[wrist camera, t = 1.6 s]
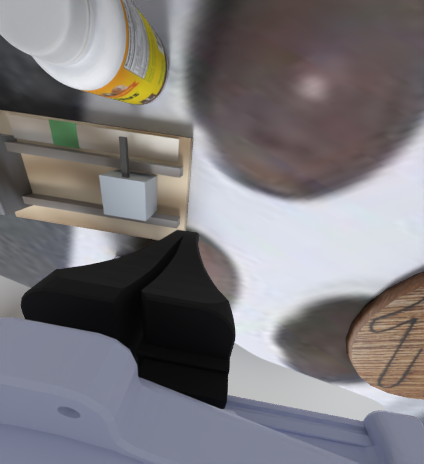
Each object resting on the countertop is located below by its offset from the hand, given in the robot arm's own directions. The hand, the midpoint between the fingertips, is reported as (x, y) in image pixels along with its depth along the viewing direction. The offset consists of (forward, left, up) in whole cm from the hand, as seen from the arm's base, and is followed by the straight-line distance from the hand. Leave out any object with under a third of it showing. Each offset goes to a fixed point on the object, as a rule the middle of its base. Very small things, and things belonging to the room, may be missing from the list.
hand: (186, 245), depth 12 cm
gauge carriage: (+2, +7, -9) cm, 11 cm away
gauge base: (0, +12, -10) cm, 16 cm away
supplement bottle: (+10, +7, -10) cm, 16 cm away
